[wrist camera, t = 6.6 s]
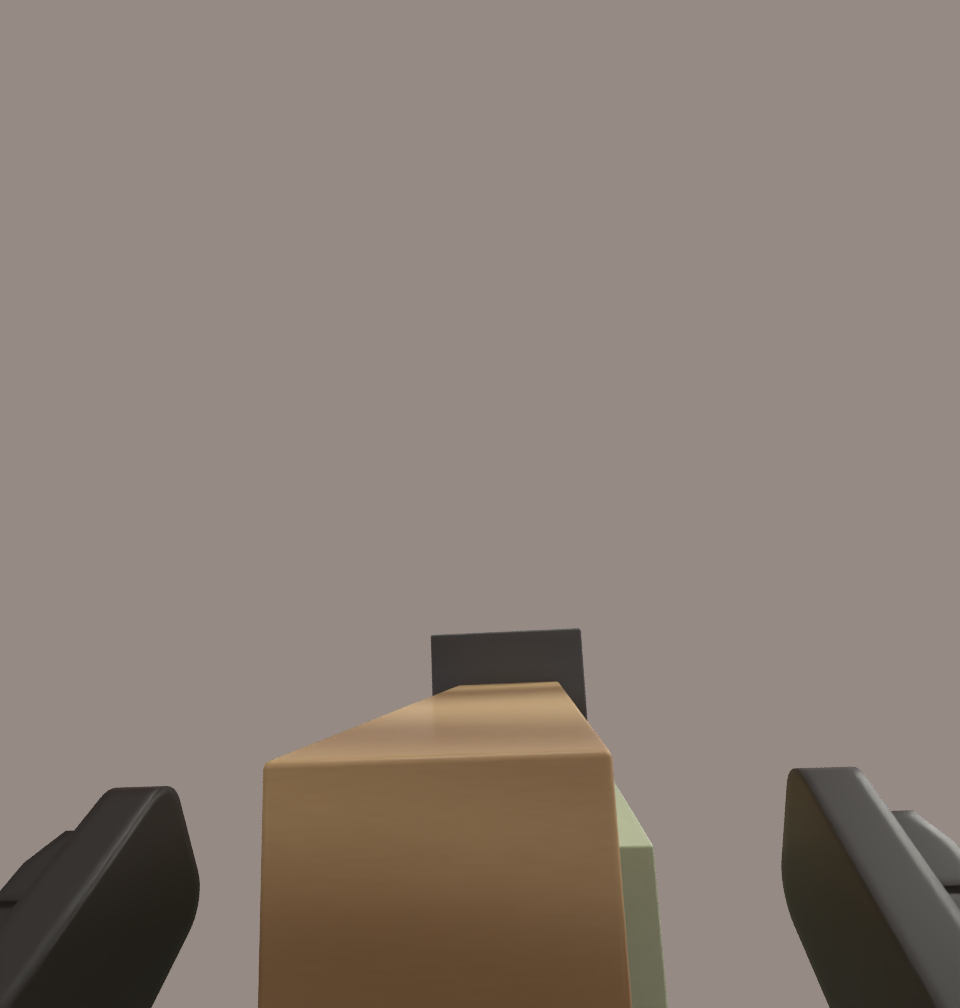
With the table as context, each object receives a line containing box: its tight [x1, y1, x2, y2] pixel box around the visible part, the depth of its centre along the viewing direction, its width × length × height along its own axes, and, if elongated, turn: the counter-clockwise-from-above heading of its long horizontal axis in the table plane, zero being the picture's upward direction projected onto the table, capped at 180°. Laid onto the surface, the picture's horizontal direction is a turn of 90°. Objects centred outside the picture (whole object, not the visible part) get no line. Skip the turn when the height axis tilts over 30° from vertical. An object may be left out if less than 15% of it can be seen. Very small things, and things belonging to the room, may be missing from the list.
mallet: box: [258, 628, 632, 1008], centre depth 15 cm, size 19×4×4 cm, turn 175°
